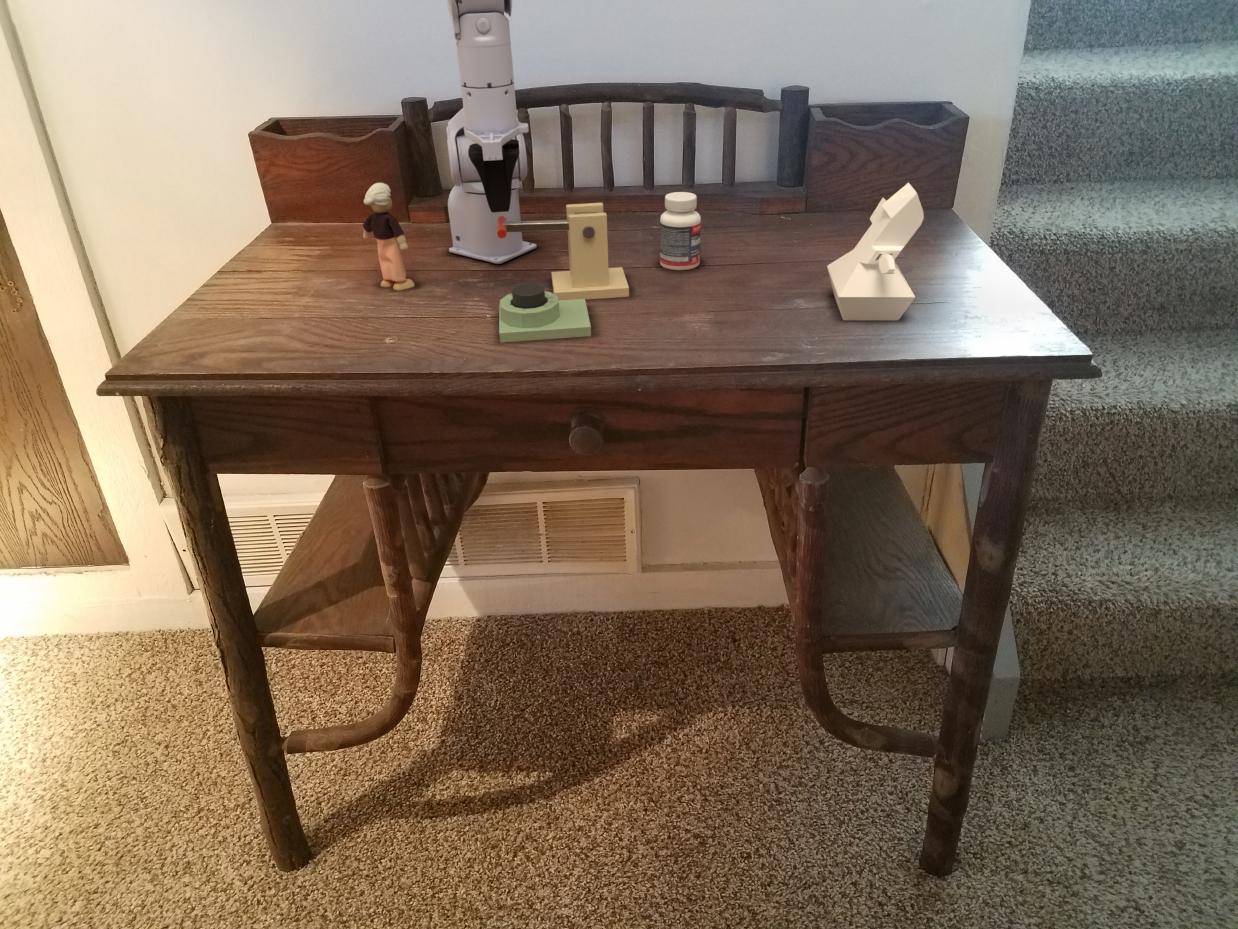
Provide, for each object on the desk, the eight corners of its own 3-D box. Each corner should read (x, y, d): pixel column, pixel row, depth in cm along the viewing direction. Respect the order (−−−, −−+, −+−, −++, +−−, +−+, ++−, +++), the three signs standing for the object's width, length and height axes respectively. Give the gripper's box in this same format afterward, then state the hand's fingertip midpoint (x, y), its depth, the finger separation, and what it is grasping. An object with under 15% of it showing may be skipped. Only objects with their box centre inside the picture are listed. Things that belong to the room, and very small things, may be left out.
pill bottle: (697, 272, 111) (698, 203, 106) (656, 270, 112) (656, 201, 107) (702, 258, 115) (704, 190, 111) (663, 256, 116) (663, 189, 111)
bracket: (554, 301, 104) (549, 221, 99) (551, 280, 110) (546, 203, 105) (629, 296, 105) (627, 216, 100) (622, 276, 111) (620, 198, 105)
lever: (497, 244, 101) (496, 223, 99) (497, 230, 105) (496, 210, 103) (600, 241, 102) (600, 220, 100) (596, 227, 106) (596, 208, 105)
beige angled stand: (838, 334, 95) (853, 208, 87) (821, 285, 106) (834, 171, 99) (917, 334, 94) (939, 207, 86) (892, 286, 106) (909, 170, 98)
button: (513, 311, 95) (512, 296, 94) (513, 299, 98) (511, 284, 97) (546, 309, 96) (545, 294, 95) (544, 296, 99) (543, 282, 98)
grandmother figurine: (428, 283, 110) (412, 181, 103) (410, 293, 107) (393, 190, 100) (379, 275, 113) (361, 176, 106) (360, 285, 110) (340, 184, 103)
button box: (500, 343, 95) (497, 317, 93) (500, 313, 102) (497, 289, 100) (591, 336, 96) (590, 311, 94) (585, 308, 102) (584, 283, 101)
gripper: (526, 94, 88) (536, 226, 95) (523, 70, 100) (532, 190, 107) (456, 97, 87) (471, 230, 95) (461, 73, 99) (475, 193, 107)
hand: (500, 209), depth 101 cm, fingers closed
